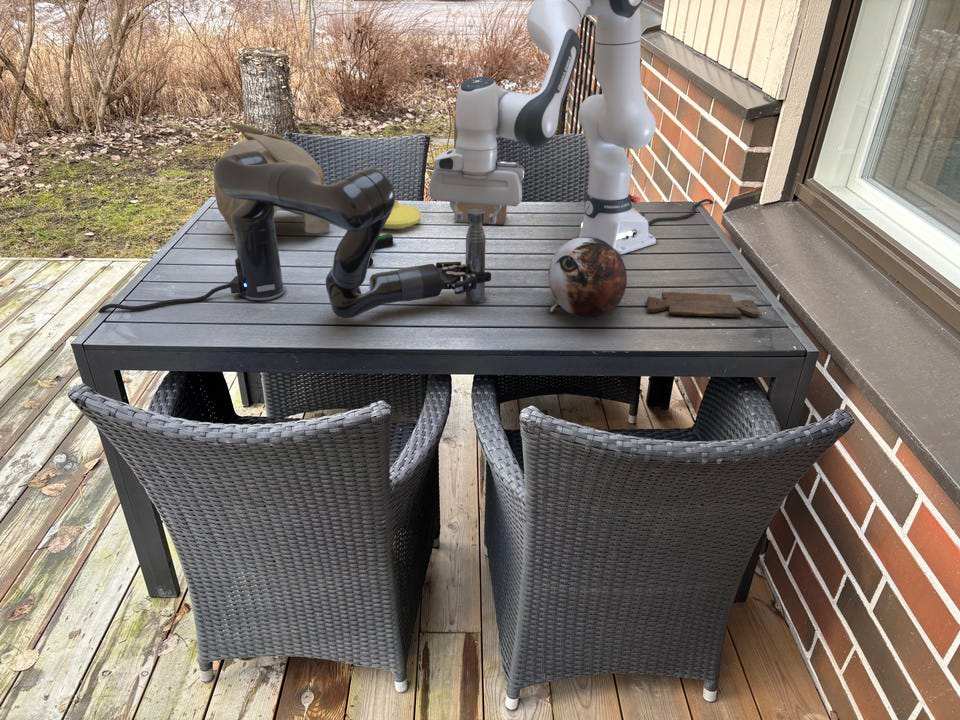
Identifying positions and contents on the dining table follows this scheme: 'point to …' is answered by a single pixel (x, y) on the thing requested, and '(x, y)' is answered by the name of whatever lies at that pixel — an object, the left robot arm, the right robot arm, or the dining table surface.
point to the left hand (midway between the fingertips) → (485, 272)
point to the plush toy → (587, 277)
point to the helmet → (274, 152)
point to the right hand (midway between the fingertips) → (475, 221)
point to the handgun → (382, 243)
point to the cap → (475, 216)
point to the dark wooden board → (702, 305)
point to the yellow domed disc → (402, 217)
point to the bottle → (475, 260)
